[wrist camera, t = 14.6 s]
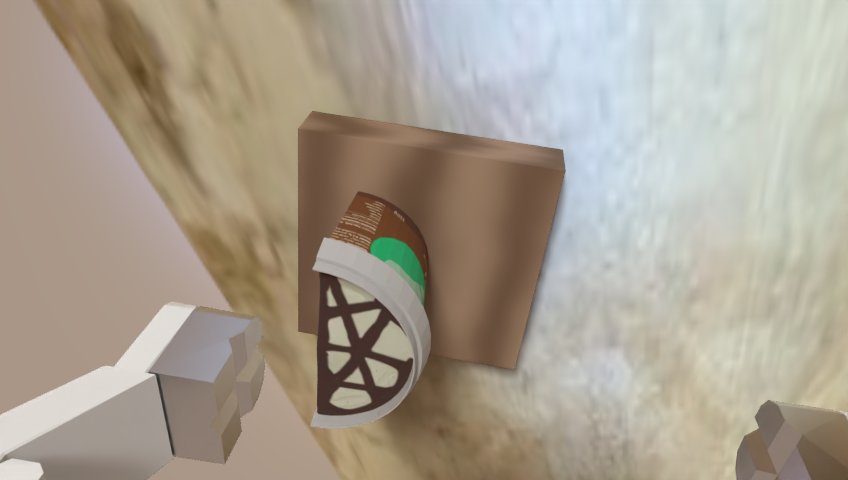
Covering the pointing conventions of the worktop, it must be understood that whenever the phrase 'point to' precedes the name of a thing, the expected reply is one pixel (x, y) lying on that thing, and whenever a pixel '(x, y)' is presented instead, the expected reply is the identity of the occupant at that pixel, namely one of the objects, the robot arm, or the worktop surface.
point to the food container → (370, 314)
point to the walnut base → (437, 221)
